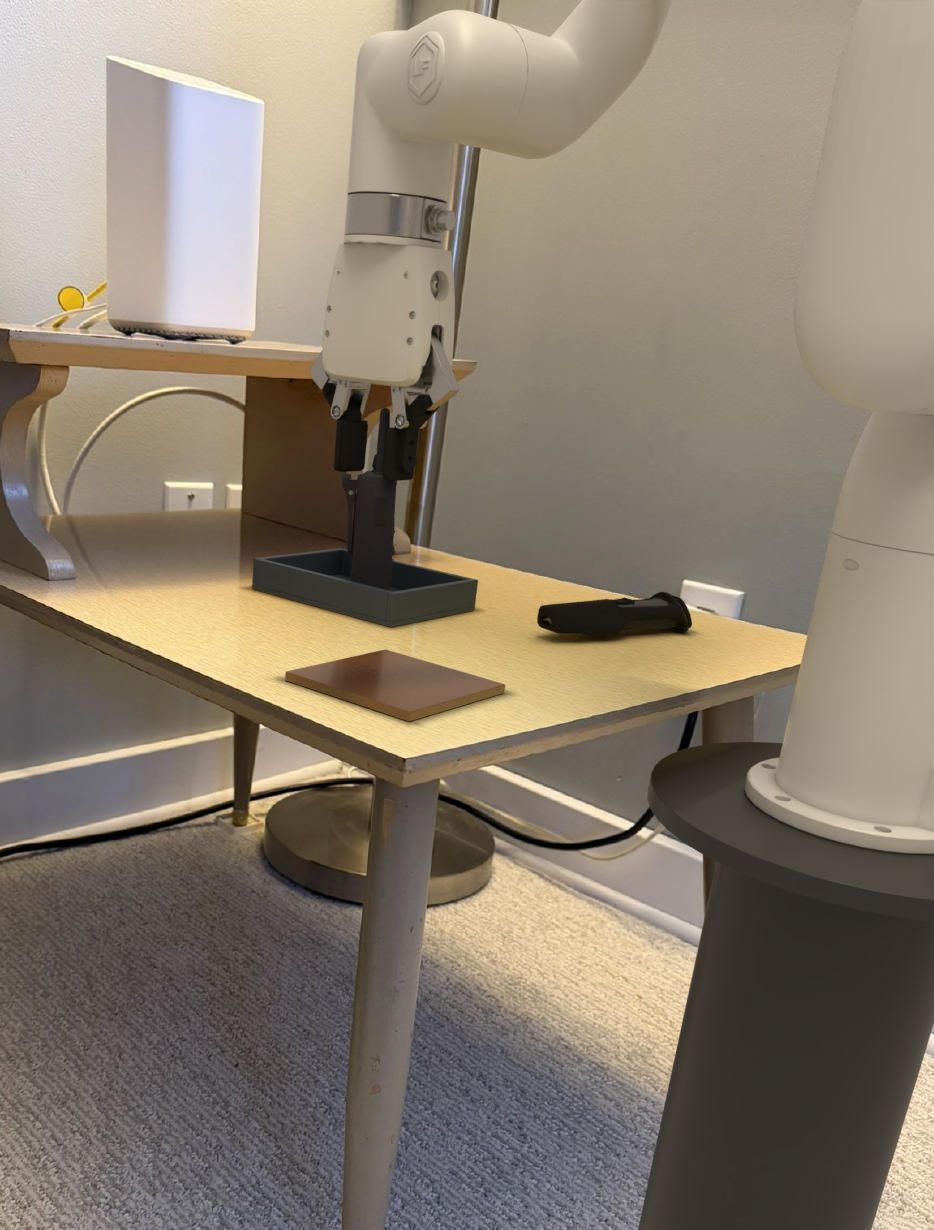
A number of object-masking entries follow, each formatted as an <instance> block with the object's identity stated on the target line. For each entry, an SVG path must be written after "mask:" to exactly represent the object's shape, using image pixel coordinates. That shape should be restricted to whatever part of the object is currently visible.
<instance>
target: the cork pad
mask: <svg viewBox="0 0 934 1230" xmlns="http://www.w3.org/2000/svg"><path fill="white" fill-rule="evenodd" d="M284 675H285V676H284V680H285V681H286V682H290V683H292V684H295V685H298V686H301V687H304V688H307V689H310V690H313V691H316V692H319V693H321V694H325V695H327V696H331V697H335V698H337V699H340V700H343V701H346V702H349V703H352V704H356V705H358V706H361V707H364V708H367V709H369V710H374V711H375V712H378V713H382V714H385V715H388V716H391V717H394V718H397V719H399V720H400V719H401V720H403V721H406V722H412V721H416V720H419V719H423V718H426V717H429V716H432V715H435V714H439V713H443V712H445V711H448V710H453V709H455V708H459V707H462V706H465V705H469V704H472V703H475V702H479V701H482V700H485V699H488V698H491V697H496V696H499V695H502V694H504V693H505V690H506V684H505V683H502V682H500V681H495V680H493V679H490V678H489V679H488V678H485V677H481V676H479V675H475V674H472V673H468V672H465V671H461V670H458V669H455V668H451V667H447V666H444V665H440V664H438V663H434V662H430V661H428V660H423V659H421V658H417V657H414V656H410V655H406V654H403V653H399V652H395V651H392V650H389V649H386V648H385V649H381V650H377V651H371V652H368V653H362V654H358V655H354V656H348V657H345V658H341V659H335V660H331V661H326V662H322V663H317V664H313V665H308V666H304V667H299V668H295V669H291V670H286V671H285V674H284Z"/></svg>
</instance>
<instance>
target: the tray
mask: <svg viewBox="0 0 934 1230" xmlns="http://www.w3.org/2000/svg"><path fill="white" fill-rule="evenodd" d="M252 562H253V564H252V577H251V578H252V580H251V581H252V582H251V583H252V584H251V589H252V590H255V591H258V592H261V593H265V594H269V595H273V596H277V597H279V598H284V599H288V600H290V601H295V602H298V603H300V604H301V603H302V604H305V605H309V606H312V607H316V608H320V609H324V610H328V611H330V612H334V613H337V614H341V615H345V616H350V617H352V618H357V619H359V620H363V621H367V622H370V623H374V624H377V625H381V626H385V627H389V628H393V627H394V628H395V627H400V626H403V625H408V624H413V623H419V622H424V621H429V620H434V619H439V618H443V617H449V616H454V615H458V614H463V613H468V612H473V611H475V610H476V602H477V593H478V584H479V579H477V578H472V577H468V576H464V575H458V574H454V573H450V572H445V571H441V570H437V569H433V568H428V567H424V566H420V565H415V564H412V563H407V562H403V561H402V562H401V561H398V560H394V559H393V564H392V574H391V578H392V582H391V584H390V591H388V590H384V589H380V588H376V587H372V586H368V585H364V584H360V583H356V582H352V581H350V576H351V572H350V565H351V554H350V553H349V552H348V551H347V548H344V547H343V548H342V547H340V548H339V547H338V548H331V549H321V550H313V551H306V552H298V553H297V552H296V553H289V554H288V553H287V554H280V555H279V554H278V555H272V556H271V555H270V556H263V557H254V558H253V561H252Z"/></svg>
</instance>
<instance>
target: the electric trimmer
mask: <svg viewBox="0 0 934 1230" xmlns="http://www.w3.org/2000/svg"><path fill="white" fill-rule="evenodd" d="M691 615H692V614H691V612H690V610H689V608H688V605H687V604H686V603H685V601H684V600H683V599H682V598H681V597H679V596H677V595H673V594H671V593H669V592H667V591H659V592H657V593H655V594H653V595H652V596H651V597H647V598H642V599H641V598H640V599H632V598H628V597H621V598H615V599H609V598H602V599H595V600H584V601H583V600H581V601H572V602H562V603H561V602H559V603H549V604H543V605H540V606H539V607H538V612H537V616H536V620H537V621H536V622H537V625H538V627H539V628H541V629H544V630H546V631H548V632H552V633H555V634H559V635H583V636H594V637H595V636H596V637H613V636H618V635H620V633H622V632H631V631H644V630H659V629H660V630H661V629H669V630H673V631H675V632H678V633H679V632H680V633H686V632H688V631H689V629H691V628H692V626H693V620H692V616H691Z"/></svg>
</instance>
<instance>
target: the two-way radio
mask: <svg viewBox="0 0 934 1230" xmlns="http://www.w3.org/2000/svg"><path fill="white" fill-rule="evenodd" d="M388 428H391V411H390V409H389V408H387V407H383V408H381V409H380V412H379V422H378V432H377V442H376V444H377V445H376V453H375V454H374V456H373V459H372V464H371V468H372V469H371V470H367V471H364V472H362V473H360V474H358V475H357V478H356V479H352V473H342V477H341V478H342V479H341V486H342V489H343V491H344V494H345V498H346V504H347V525H346V526H347V528H346V549H347V551H348V552H349V553H350V554H351V565H350V572H351V576H350V581H352V582H356V583H360V584H364V585H368V586H372V587H376V588H380V589H384V590H388V591H390V584H391V582H392V578H391V574H392V564H393V560H394V559H393V556H394V553H395V546H394V538H395V533H396V529H395V528H396V526H395V525H396V524H395V523H396V522H395V515H396V513H395V512H396V499H397V498H396V497H397V487H398V486H397V485H398V481H389V480H385V479H384V477H383V468H384V457H385V446H386V435H387V430H388Z"/></svg>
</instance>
